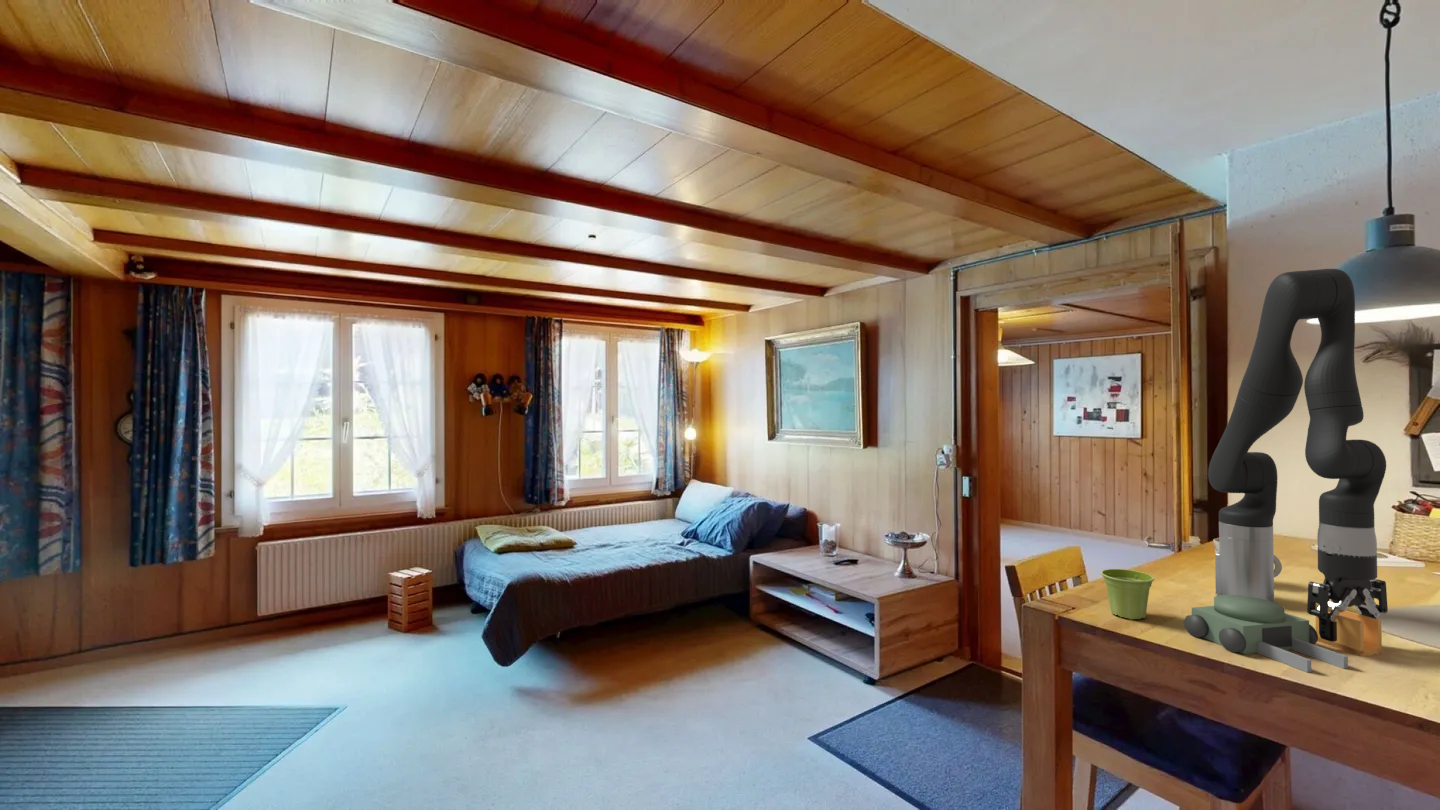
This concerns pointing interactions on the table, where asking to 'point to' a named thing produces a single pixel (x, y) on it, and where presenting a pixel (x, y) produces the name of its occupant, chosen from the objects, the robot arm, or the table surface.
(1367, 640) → the orange u-channel
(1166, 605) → the table surface
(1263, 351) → the robot arm
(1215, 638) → the toy forklift
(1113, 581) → the plant pot
